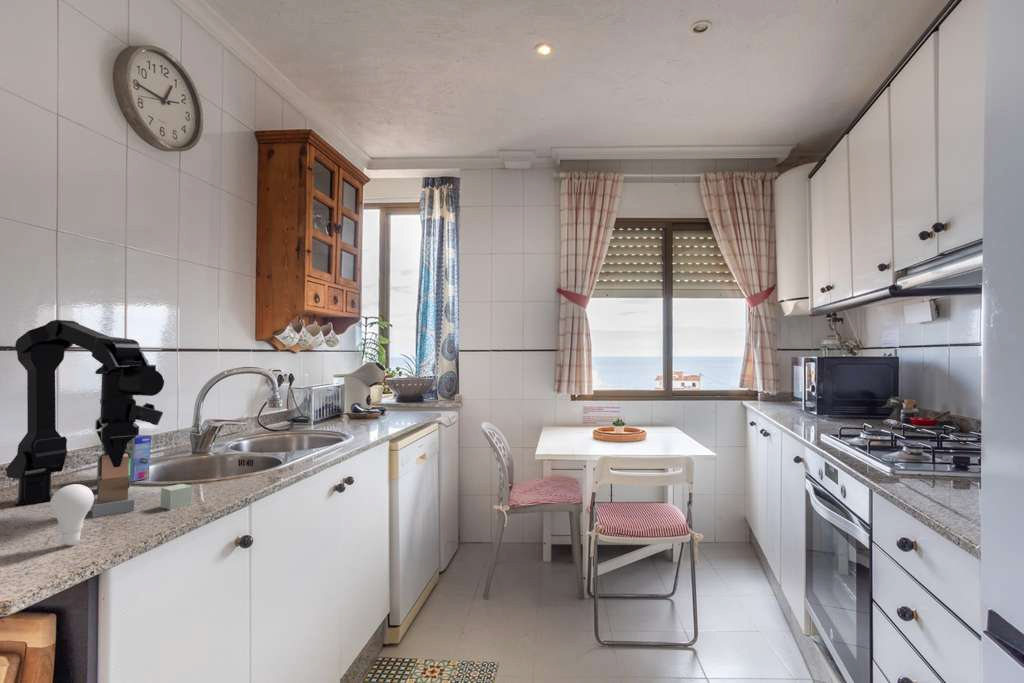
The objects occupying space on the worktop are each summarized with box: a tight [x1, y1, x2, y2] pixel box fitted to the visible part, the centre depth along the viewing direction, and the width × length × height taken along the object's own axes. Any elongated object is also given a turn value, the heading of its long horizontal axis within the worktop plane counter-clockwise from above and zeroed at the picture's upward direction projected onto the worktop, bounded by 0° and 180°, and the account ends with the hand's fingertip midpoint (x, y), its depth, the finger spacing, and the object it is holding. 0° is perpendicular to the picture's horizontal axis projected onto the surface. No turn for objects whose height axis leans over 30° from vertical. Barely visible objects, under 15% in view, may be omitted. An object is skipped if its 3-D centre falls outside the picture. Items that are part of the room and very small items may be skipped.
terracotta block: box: [102, 454, 129, 480], centre depth 114 cm, size 4×4×4 cm
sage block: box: [160, 483, 193, 511], centre depth 118 cm, size 4×4×4 cm
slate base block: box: [90, 493, 135, 519], centre depth 114 cm, size 7×7×3 cm
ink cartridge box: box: [126, 434, 152, 483], centre depth 143 cm, size 10×6×14 cm, turn 78°
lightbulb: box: [49, 483, 95, 547], centre depth 93 cm, size 6×6×11 cm
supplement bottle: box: [96, 446, 131, 492], centre depth 132 cm, size 7×7×12 cm
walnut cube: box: [97, 476, 129, 504], centre depth 114 cm, size 5×5×5 cm
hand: (115, 464), depth 114 cm, fingers open, 7 cm apart
